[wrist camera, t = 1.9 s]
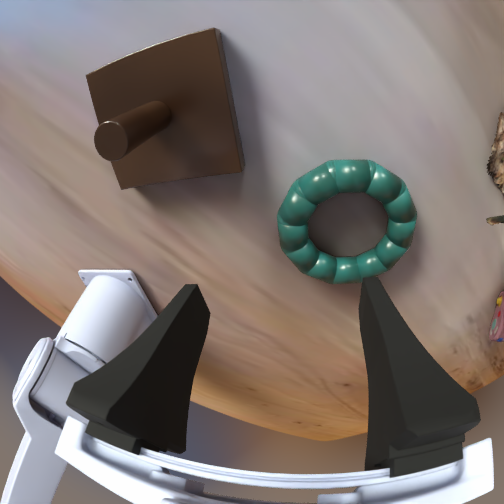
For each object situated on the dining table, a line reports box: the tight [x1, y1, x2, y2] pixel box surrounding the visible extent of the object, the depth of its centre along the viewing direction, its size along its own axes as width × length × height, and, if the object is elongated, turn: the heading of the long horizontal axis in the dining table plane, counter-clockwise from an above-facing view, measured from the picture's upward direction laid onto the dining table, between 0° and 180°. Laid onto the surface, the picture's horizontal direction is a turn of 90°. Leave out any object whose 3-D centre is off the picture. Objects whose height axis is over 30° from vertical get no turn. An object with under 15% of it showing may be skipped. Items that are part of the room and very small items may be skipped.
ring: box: [277, 160, 417, 284], centre depth 18 cm, size 10×10×2 cm
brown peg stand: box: [86, 28, 245, 190], centre depth 13 cm, size 9×9×6 cm
